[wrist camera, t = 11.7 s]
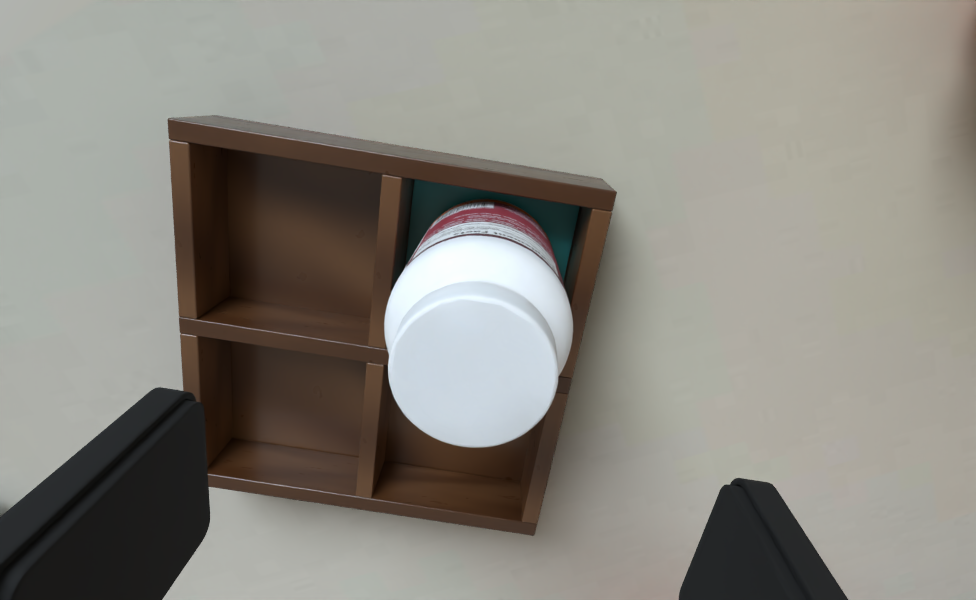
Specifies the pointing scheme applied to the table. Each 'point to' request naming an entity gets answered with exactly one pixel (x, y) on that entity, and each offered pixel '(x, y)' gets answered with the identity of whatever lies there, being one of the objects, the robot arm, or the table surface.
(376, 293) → the grid
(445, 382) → the pill bottle
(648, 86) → the table surface
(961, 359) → the table surface
